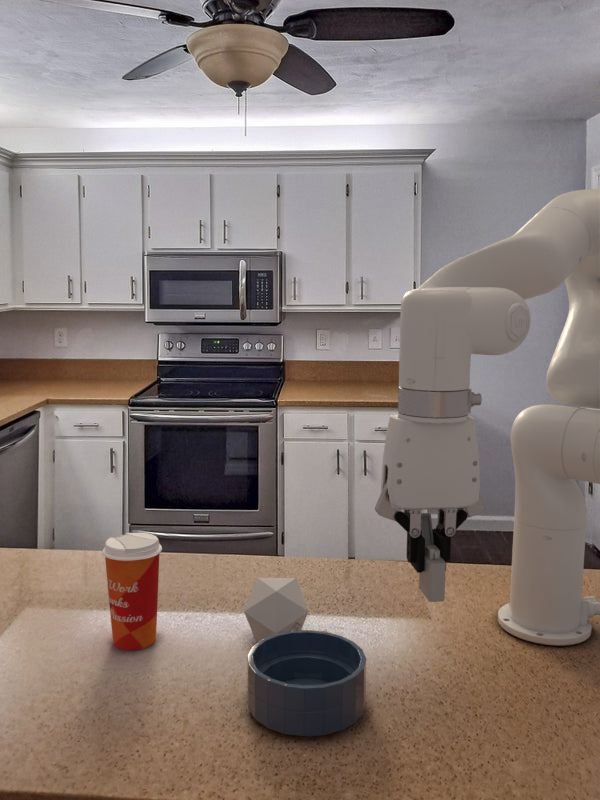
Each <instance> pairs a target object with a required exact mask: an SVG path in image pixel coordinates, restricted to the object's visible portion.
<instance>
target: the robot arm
mask: <svg viewBox="0 0 600 800" xmlns="http://www.w3.org/2000/svg"><path fill="white" fill-rule="evenodd" d="M563 283H565V287H566V292H567V297H568V304H569V305H568V306H569V307H568V314H567V317H566V321H565V322H564V326H563V329H562V331H561V333H560V337H559V339H558V341H557V344H556V347H555V350H554V352H553V355H552V357H551V359H550V362H549V365H548V369H547V372H546V376H545V388H546V392H547V393H548V395H549V396H550V397H551V398H552V399H553V400H555V401H556V402H559V403H562V404H564V405H562V404H561V405H559V404H548V403H547V404H546V403H545V404H535V405H531V406H529V407H526V408H524V409H523V410H521V412H519V413H518V414H517V416H516V417H515V419H514V420H513V423H512V425H511V430H510V447H511V454H512V456H511V457H512V462H513V469H514V482H515V483H514V488H515V489H514V490H515V491H514V514H513V515H514V516H513V531H512V532H513V533H512V552H511V571H510V572H511V573H510V589H509V592H510V593H509V602H508V603H506V604H504V605H502V606H501V607H500V608H499V609H498V611H497V622H498V624H499V625H500V627H501V628H502V629H503V630H504V631H506V632H507V633H509V634H510V635H512V636H514V637H516V638H518V639H521V640H524V641H527V642H530V643H535V644H539V645H545V646H554V647H555V646H558V647H559V646H562V647H563V646H573V645H576V644H580V643H583V642H585V641H587V640H588V639H589V638H590V637H591V635H592V622H591V621H590V620H589V619H592V618H593V617H595V616H600V601H599V600H598V601H597V599H596V596H594V595H589V596H587V595H586V596H583V580H584V567H585V551H586V535H587V522H588V508H587V503H586V500H585V497H584V494H583V492H582V490H581V488H580V486H579V485H578V483H577V481H580V482H581V481H582V482H586V483H592V484H597V485H600V187H598V188H588V189H587V188H586V189H577V190H572V191H567V192H564V193H561V194H559V195H557V196H556V197H554V198H552V199H551V200H550V201H549V202H548V203H547V204H545V206H543V207H542V208H541V209H540V210H539V211H538V212H537V213H535V215H534V216H533V217H531V218H530V219H529V220H528V221H527V222H526V223H524V225H523V226H522V227H521V228H519V229H518V230H517V231H516V232H515V233H514V234H512V235H511V236H509V237H506V238H504V239H501V240H499V241H496V242H494V243H492V244H489V245H487V246H485V247H483V248H480V249H478V250H475V251H473V252H471V253H469V254H466V255H464V256H462V257H459V258H457V259H455V260H453V261H451V262H449V263H447V264H445V265H444V266H443V267H441V268H440V269H439V270H437V271H436V272H435V273H434V274H432V275H431V276H430V277H429V278H427V280H425V281H424V282H423V283H422V284H420V286H419V287H418V288H414V289H410V290H408V291H406V292H405V293H404V295H403V296H402V299H401V301H400V317H399V319H400V320H399V321H400V324H399V355H398V356H399V357H398V361H399V362H398V392H397V393H398V394H397V396H398V397H397V413H393V414H390V415H389V419H388V422H387V423H388V424H387V427H386V434H385V440H384V448H383V454H382V455H383V456H382V464H381V465H382V466H381V476H380V490H381V492H380V495H379V496H378V499H377V501H376V504H375V506H374V511H375V512H376V513H377V515H378V516H380V517H382V518H385V519H387V520H390V521H394V522H396V523H397V524H398V525H399V526H401V527H402V529H404V531H406V561H407V563H409V564H410V565H411V566H412V567H413V569H414V570H415V571H416V573H417V574H419V573H422V572H423V571H424V563H425V538H424V537H423V536H422V531H421V513H422V510H423V511H424V510H426V511H427V510H437V521H436V523H437V525H436V526H435V527H434V528H433V541H434V545H435V546H436V547H437V548H438V549H439V550H440V557H441V558H442V559H443V560H444V561H445V562H446V563H447V562H450V561H451V551H452V549H451V548H452V547H451V546H452V537H453V536H454V535H455V534H456V533H457V530H458V528H459V527H461V525H462V524H463V523H464V522H466V520H467V519H470V518H472V517H474V516H477V515H479V514H481V513H483V512H484V511H485V510H486V509H485V505H484V502H483V499H482V496H481V494H480V490H481V486H480V485H481V477H480V476H481V470H480V469H481V468H480V451H479V441H478V434H477V427H476V421H475V418H474V417H473V416H471V413H472V412H471V411H472V408H474V407H475V406H481V405H482V402H483V399H482V394H481V393H480V392H474V391H472V388H470V387H471V386H470V383H471V363H472V362H471V361H472V359H471V358H472V355H481V356H501V355H505V354H508V353H511V352H514V351H515V350H516V349H518V348H519V347H520V346H521V345H522V344H523V343H524V342H525V340H526V339H527V337H528V335H529V332H530V329H531V321H532V320H531V318H532V317H531V312H530V309H529V306H528V304H527V302H526V300H529V299H533V298H535V297H540V296H542V295H545V294H548V293H550V292H553V291H554V290H556V289H557V288H558V287H560V286H561V285H562V284H563Z"/></svg>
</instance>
